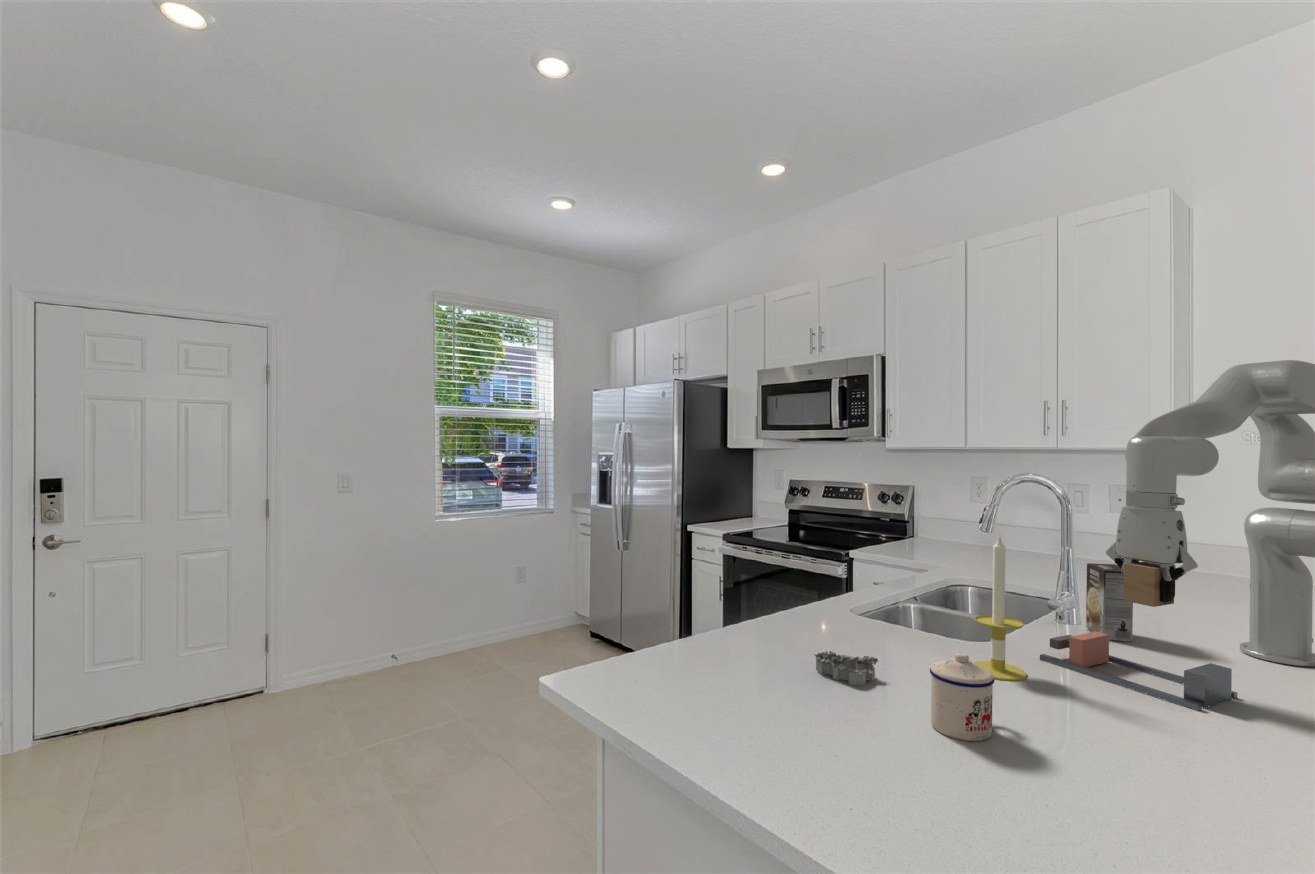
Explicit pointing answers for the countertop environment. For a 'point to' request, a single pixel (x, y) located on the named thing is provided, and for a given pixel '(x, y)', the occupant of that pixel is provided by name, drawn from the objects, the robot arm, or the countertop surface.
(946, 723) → the teacup with lid
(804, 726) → the countertop surface
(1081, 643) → the block
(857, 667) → the egg carton
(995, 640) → the candle
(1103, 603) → the coffee box
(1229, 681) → the vise bed
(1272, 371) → the robot arm
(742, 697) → the countertop surface
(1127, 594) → the block
